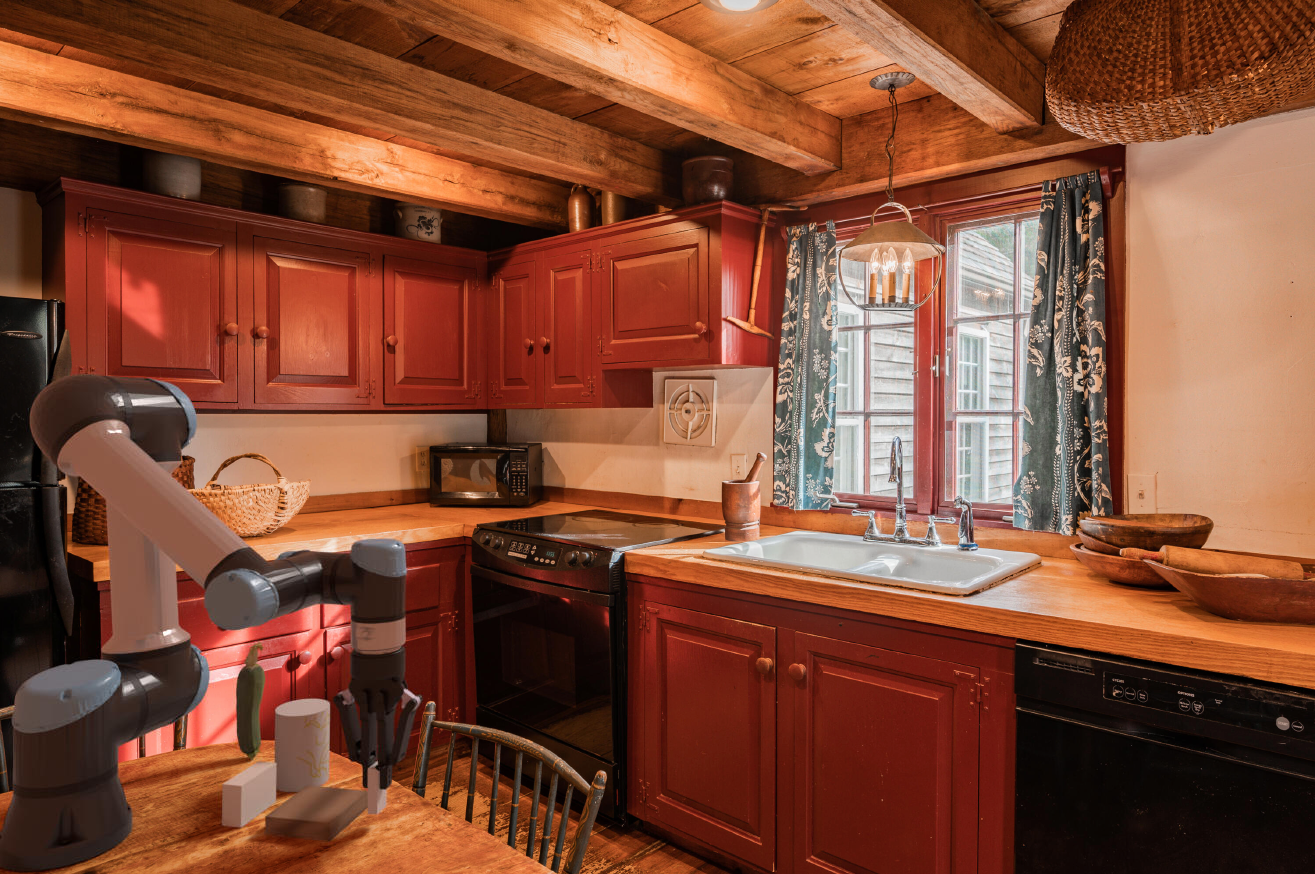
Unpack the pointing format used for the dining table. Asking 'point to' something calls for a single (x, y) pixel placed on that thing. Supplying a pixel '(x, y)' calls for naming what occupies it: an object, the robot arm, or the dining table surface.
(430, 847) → the dining table surface
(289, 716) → the grey cylinder
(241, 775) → the block
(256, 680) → the vegetable
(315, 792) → the board
